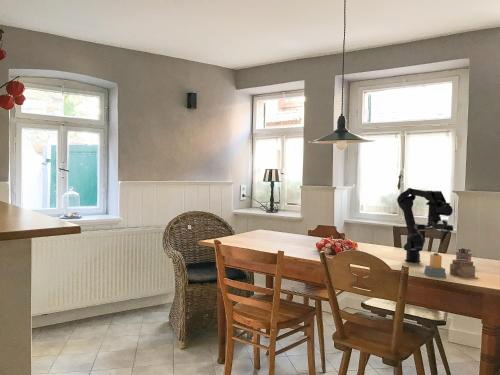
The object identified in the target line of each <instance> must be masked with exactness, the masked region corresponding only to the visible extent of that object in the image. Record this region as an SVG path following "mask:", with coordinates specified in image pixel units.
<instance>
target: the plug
mask: <svg viewBox="0 0 500 375" xmlns="http://www.w3.org/2000/svg"><path fill="white" fill-rule="evenodd" d="M429 257H430V258H429V266H430V267H431V268H440V269H441V267H442V260H443V259H442V257H443V256H442V255H440V254H439V253H437V252H433V253H431V254H430V255H429Z"/></svg>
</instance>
